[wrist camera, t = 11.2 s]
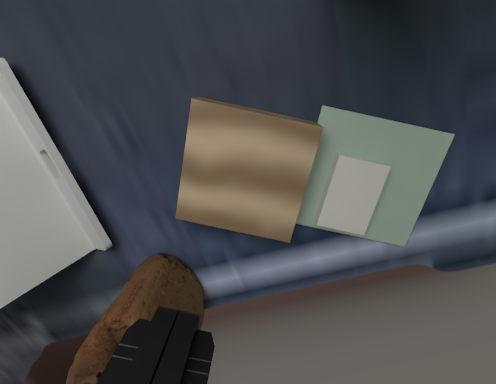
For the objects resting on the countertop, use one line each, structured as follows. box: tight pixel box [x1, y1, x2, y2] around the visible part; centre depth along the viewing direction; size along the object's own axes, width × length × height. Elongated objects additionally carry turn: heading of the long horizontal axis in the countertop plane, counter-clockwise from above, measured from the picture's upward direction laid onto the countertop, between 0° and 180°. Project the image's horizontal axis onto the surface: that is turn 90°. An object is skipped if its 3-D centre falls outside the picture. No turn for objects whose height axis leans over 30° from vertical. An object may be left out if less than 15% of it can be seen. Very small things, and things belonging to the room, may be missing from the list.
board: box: [175, 97, 323, 243], centre depth 35 cm, size 14×14×4 cm
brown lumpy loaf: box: [66, 253, 204, 384], centre depth 34 cm, size 11×8×20 cm
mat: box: [296, 105, 455, 247], centre depth 37 cm, size 15×16×1 cm
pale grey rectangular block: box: [314, 151, 391, 235], centre depth 36 cm, size 9×6×2 cm, turn 168°
